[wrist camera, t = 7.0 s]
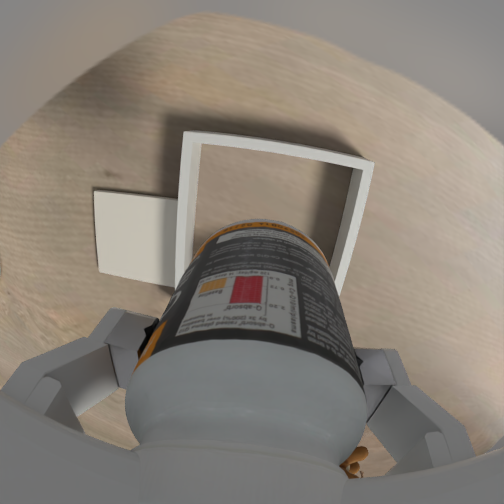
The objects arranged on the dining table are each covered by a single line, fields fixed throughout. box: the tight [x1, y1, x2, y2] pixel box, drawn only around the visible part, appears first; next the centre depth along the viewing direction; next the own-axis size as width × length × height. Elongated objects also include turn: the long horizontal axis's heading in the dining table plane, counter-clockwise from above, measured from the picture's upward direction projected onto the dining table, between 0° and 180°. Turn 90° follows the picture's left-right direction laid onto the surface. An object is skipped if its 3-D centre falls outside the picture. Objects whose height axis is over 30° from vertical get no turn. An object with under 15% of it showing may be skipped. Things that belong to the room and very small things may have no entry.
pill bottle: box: [125, 219, 367, 504], centre depth 8 cm, size 6×6×10 cm
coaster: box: [94, 190, 178, 287], centre depth 28 cm, size 9×9×1 cm
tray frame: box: [175, 130, 375, 295], centre depth 26 cm, size 15×18×3 cm
